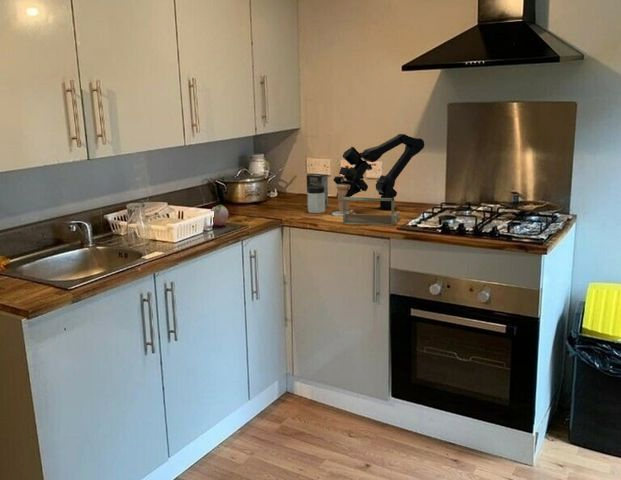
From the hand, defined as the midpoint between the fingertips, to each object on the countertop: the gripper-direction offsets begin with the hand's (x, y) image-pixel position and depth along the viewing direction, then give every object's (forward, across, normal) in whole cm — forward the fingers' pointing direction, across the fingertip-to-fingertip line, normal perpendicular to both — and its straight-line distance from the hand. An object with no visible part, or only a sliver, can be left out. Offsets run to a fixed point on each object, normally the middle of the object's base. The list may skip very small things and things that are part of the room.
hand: (341, 197), depth 295 cm
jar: (+8, -15, +4) cm, 17 cm away
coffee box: (+2, -25, +10) cm, 27 cm away
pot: (+3, 0, +5) cm, 6 cm away
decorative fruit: (+44, -20, -32) cm, 58 cm away
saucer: (+5, 0, +7) cm, 8 cm away
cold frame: (+7, +22, +4) cm, 23 cm away
